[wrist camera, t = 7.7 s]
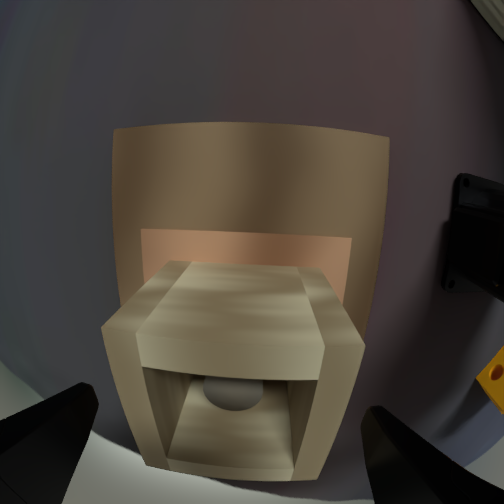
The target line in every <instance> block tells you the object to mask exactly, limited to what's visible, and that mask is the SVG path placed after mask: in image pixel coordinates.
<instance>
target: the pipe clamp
mask: <svg viewBox="0 0 504 504" xmlns="http://www.w3.org/2000/svg"><path fill="white" fill-rule="evenodd" d="M476 379H477V381H478V382H479V384H480V385H481V387H482V388H483V390H484V391H485V393H486V394H487V396H488V397H489V398H490V399H491V401H492V402H493V403H494V404H495V406H496V407H497V408H498V409H499V411H500V412H501V413H502V414H504V346H503V347H502V348H501V350H500V351H499V352H498V353H497V354H496V356H495V357H494V358H493V359H492V360H491V361H490V363H489V364H488V365H487V366H486V367H485V368H484V369H483V370H482V371H481V373H480V374H479V375H478V376H477V377H476Z"/></svg>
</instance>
